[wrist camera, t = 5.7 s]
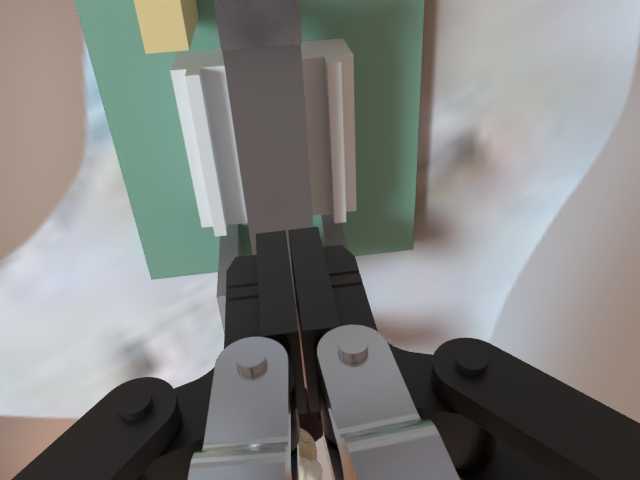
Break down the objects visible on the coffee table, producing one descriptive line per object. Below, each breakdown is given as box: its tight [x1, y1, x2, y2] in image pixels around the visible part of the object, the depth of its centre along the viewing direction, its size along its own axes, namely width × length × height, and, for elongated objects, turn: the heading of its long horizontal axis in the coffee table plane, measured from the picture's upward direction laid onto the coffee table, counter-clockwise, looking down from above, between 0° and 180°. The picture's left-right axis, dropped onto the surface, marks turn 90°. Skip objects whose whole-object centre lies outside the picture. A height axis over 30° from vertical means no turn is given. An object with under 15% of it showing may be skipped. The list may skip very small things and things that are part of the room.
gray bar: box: [214, 0, 313, 304], centre depth 25 cm, size 16×4×2 cm, turn 3°
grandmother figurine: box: [297, 317, 323, 480], centre depth 32 cm, size 8×4×13 cm, turn 71°
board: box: [74, 0, 425, 334], centre depth 27 cm, size 18×16×8 cm
